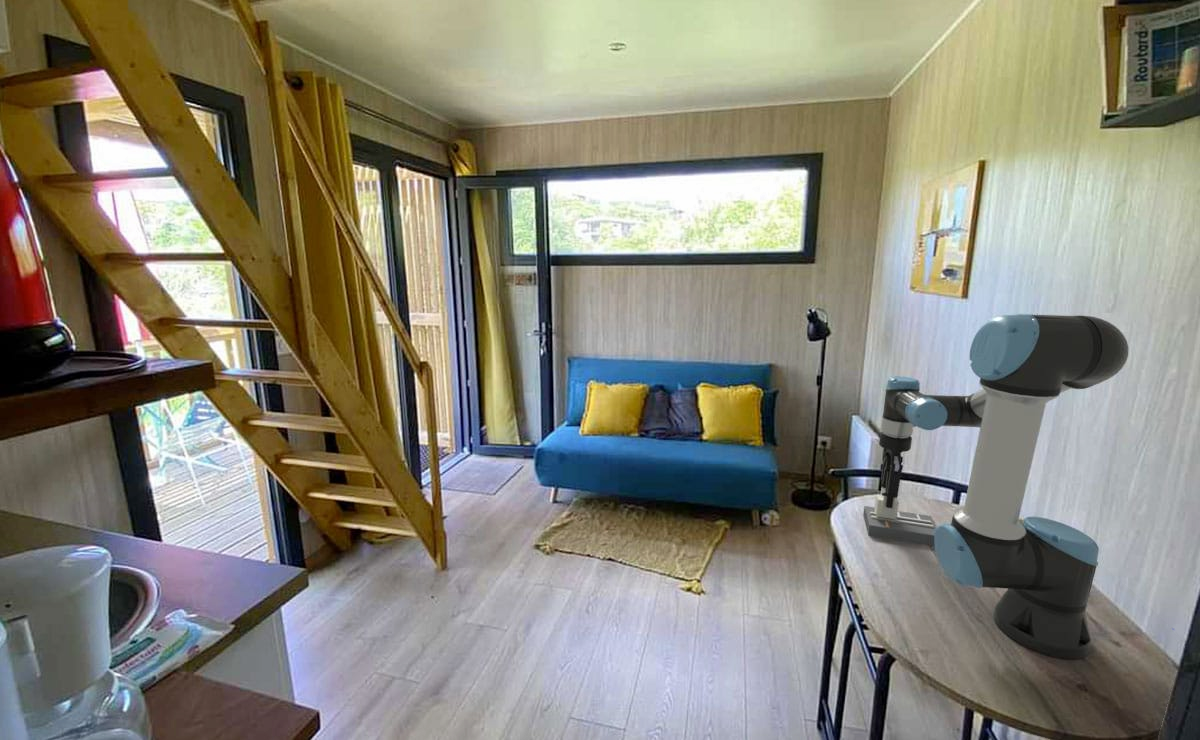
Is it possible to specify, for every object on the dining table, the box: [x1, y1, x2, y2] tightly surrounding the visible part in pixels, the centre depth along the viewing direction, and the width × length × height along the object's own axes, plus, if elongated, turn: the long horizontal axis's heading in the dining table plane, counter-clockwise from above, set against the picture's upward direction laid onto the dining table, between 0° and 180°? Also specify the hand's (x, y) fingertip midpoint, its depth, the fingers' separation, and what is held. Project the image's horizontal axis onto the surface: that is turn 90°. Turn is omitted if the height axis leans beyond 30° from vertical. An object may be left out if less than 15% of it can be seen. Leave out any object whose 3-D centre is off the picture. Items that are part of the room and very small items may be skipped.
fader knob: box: [874, 494, 900, 519], centre depth 147 cm, size 4×5×6 cm
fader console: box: [862, 505, 938, 547], centre depth 147 cm, size 12×17×4 cm
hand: (885, 513), depth 148 cm, fingers closed on fader knob, 4 cm apart
